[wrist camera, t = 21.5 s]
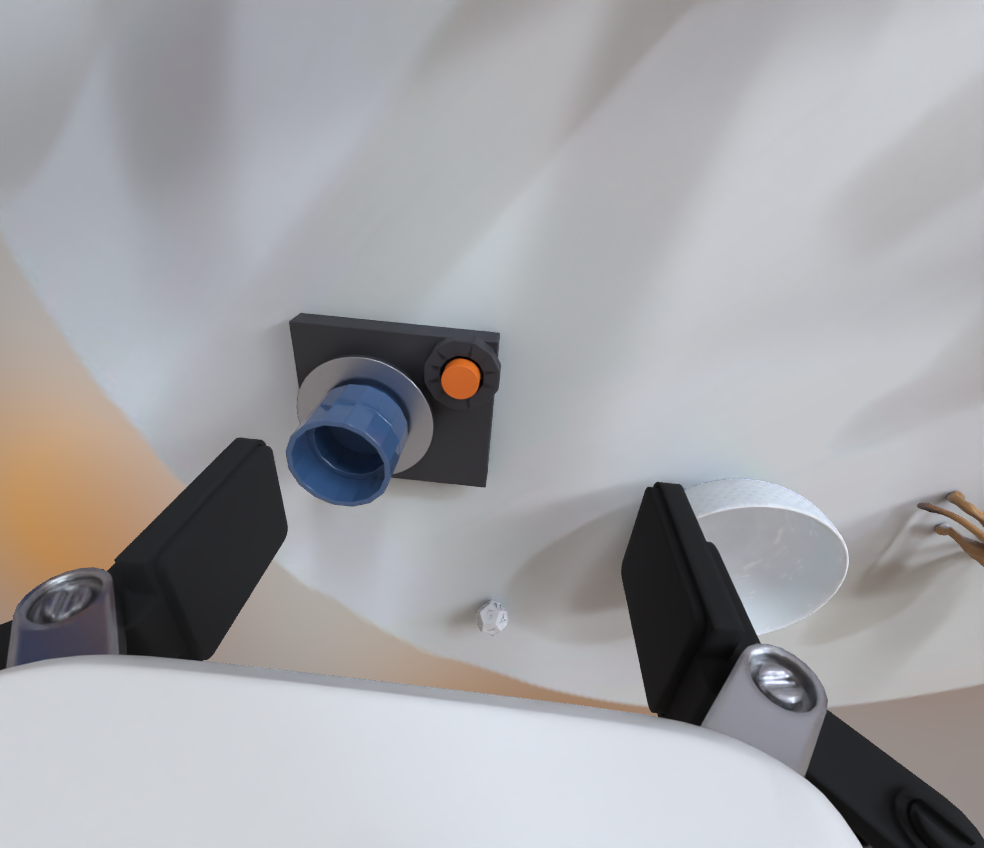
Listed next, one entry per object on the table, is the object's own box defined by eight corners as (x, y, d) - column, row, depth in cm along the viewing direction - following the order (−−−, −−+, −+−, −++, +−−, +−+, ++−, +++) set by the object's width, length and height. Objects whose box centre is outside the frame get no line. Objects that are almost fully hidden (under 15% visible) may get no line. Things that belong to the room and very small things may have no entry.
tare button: (481, 359, 35) (479, 367, 34) (479, 393, 36) (477, 401, 35) (444, 356, 35) (441, 363, 34) (443, 389, 36) (440, 397, 35)
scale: (504, 328, 37) (502, 345, 34) (491, 474, 44) (488, 498, 41) (299, 308, 37) (279, 323, 34) (320, 456, 44) (305, 478, 41)
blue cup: (408, 385, 35) (387, 427, 30) (410, 462, 39) (391, 511, 34) (315, 376, 36) (278, 415, 30) (325, 453, 39) (294, 500, 34)
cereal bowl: (596, 560, 49) (605, 619, 43) (666, 430, 40) (690, 481, 34) (747, 596, 50) (776, 659, 44) (846, 478, 41) (900, 535, 35)
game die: (471, 600, 54) (468, 623, 51) (500, 592, 53) (498, 615, 50) (485, 619, 55) (483, 642, 53) (513, 611, 54) (512, 635, 52)
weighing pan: (435, 362, 35) (434, 364, 34) (433, 479, 40) (432, 482, 40) (289, 347, 35) (286, 349, 35) (308, 465, 41) (306, 468, 40)
